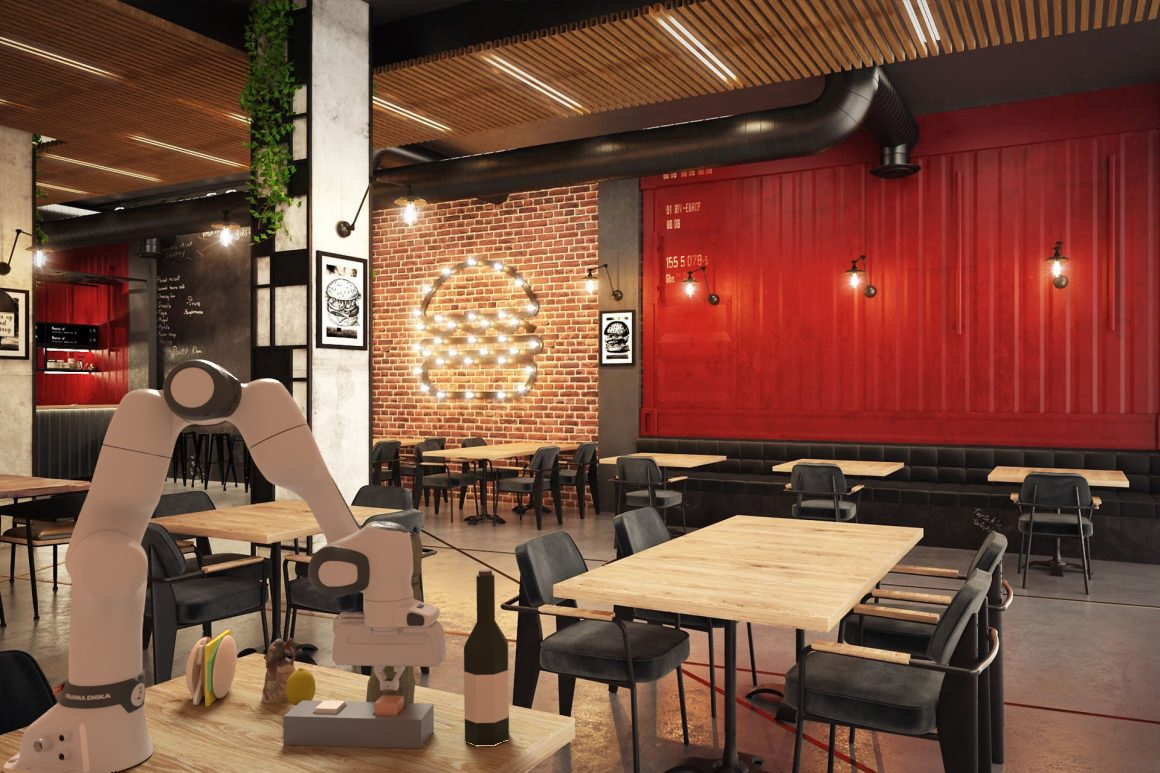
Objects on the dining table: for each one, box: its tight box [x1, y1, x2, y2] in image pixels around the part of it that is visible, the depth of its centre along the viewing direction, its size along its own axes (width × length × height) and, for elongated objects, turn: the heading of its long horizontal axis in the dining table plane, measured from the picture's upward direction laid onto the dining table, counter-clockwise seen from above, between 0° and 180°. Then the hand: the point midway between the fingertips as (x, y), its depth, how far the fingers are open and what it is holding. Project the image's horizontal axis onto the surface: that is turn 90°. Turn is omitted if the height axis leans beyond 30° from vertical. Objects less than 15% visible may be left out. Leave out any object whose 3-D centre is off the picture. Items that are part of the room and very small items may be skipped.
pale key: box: [315, 700, 346, 714], centre depth 156 cm, size 4×4×4 cm
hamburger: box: [185, 629, 238, 707], centre depth 179 cm, size 12×8×12 cm
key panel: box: [282, 700, 435, 749], centre depth 155 cm, size 25×8×5 cm, turn 84°
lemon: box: [286, 667, 316, 707], centre depth 170 cm, size 6×6×8 cm
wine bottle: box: [463, 568, 510, 745], centre depth 155 cm, size 8×8×30 cm
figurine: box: [261, 637, 296, 704], centre depth 177 cm, size 7×7×12 cm
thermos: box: [365, 530, 424, 703], centre depth 165 cm, size 9×12×35 cm
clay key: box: [375, 695, 404, 716], centre depth 155 cm, size 4×4×4 cm
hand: (389, 689), depth 155 cm, fingers closed
